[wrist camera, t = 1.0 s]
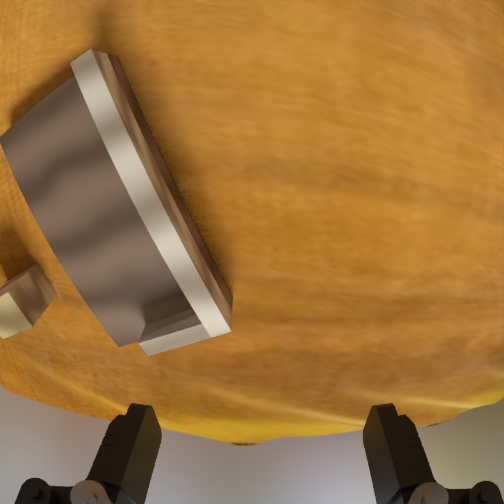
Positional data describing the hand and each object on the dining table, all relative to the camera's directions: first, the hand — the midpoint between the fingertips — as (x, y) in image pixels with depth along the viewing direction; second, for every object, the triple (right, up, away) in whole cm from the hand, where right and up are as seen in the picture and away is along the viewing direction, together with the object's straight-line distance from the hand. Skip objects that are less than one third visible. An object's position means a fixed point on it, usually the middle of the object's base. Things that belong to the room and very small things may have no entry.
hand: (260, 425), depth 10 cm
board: (-14, +10, +18) cm, 25 cm away
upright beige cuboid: (-27, +2, +22) cm, 35 cm away
